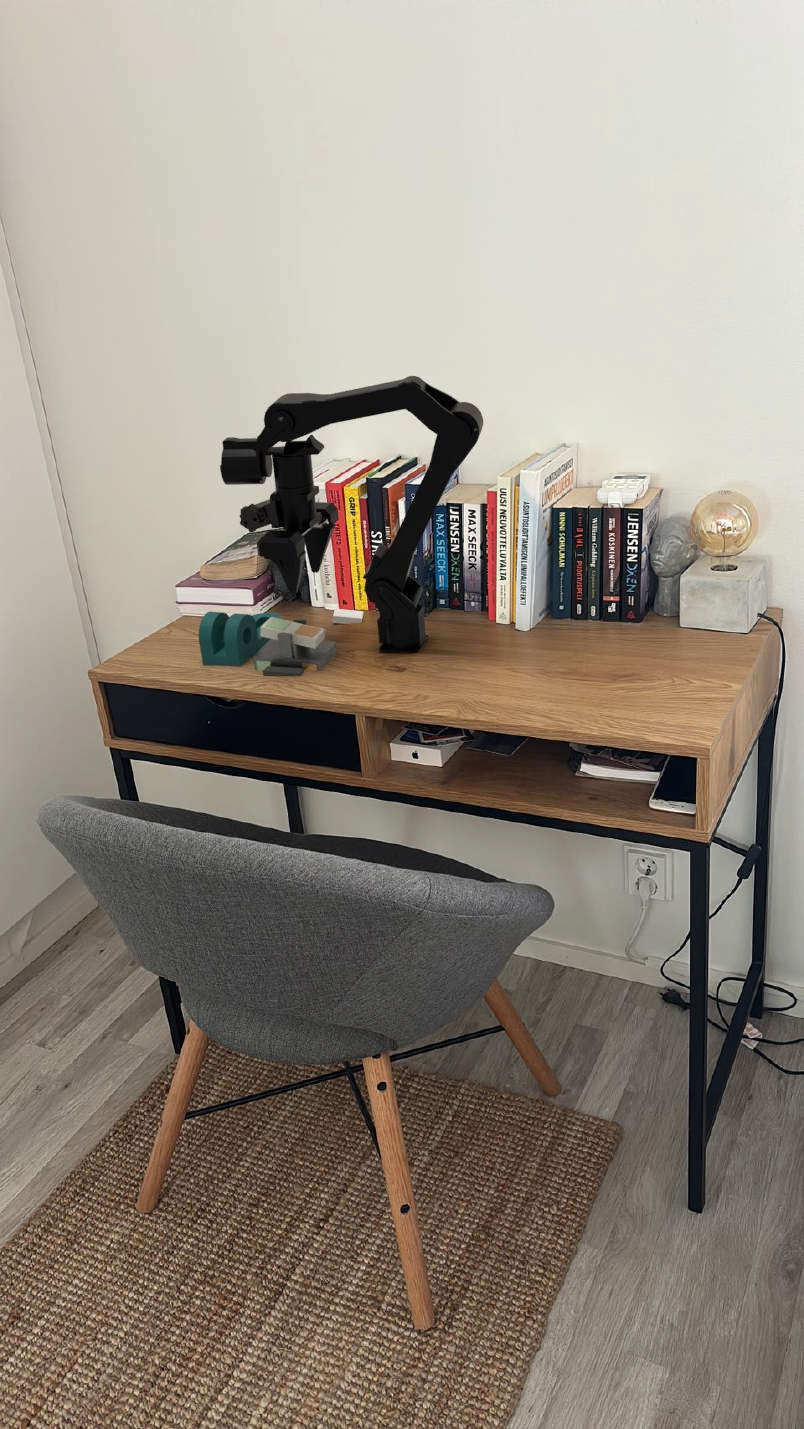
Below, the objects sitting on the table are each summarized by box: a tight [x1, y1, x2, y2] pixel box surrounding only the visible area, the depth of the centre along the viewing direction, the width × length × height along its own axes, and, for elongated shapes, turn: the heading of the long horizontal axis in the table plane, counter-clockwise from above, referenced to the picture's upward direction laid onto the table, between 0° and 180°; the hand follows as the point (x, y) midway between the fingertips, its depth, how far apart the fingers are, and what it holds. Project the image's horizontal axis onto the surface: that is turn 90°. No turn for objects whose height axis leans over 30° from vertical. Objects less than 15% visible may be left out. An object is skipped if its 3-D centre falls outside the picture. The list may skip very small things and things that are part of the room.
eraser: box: [332, 608, 364, 625], centre depth 195 cm, size 1×5×4 cm
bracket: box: [198, 611, 283, 667], centre depth 187 cm, size 18×7×8 cm, turn 159°
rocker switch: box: [260, 617, 326, 649], centre depth 177 cm, size 9×5×2 cm, turn 73°
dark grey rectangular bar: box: [262, 666, 305, 677], centre depth 175 cm, size 6×2×2 cm, turn 73°
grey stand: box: [252, 617, 338, 672], centre depth 178 cm, size 11×7×7 cm, turn 72°
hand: (304, 582), depth 178 cm, fingers open, 9 cm apart
